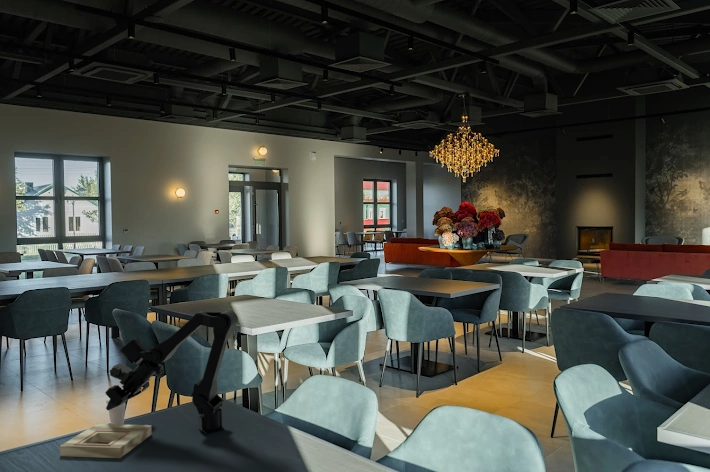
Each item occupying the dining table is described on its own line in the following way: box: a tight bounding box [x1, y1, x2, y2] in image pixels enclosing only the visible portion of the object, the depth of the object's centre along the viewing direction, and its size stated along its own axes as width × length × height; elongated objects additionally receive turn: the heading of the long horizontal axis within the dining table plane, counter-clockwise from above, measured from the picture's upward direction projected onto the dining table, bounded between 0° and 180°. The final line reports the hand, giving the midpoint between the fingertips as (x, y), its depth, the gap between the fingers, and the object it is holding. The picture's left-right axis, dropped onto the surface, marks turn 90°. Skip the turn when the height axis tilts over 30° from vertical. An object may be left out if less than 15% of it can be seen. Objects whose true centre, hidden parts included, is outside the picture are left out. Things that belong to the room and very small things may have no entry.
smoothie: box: [105, 397, 127, 425], centre depth 197 cm, size 6×6×14 cm
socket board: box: [59, 423, 153, 459], centre depth 181 cm, size 19×19×3 cm
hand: (112, 406), depth 197 cm, fingers closed on smoothie, 6 cm apart
